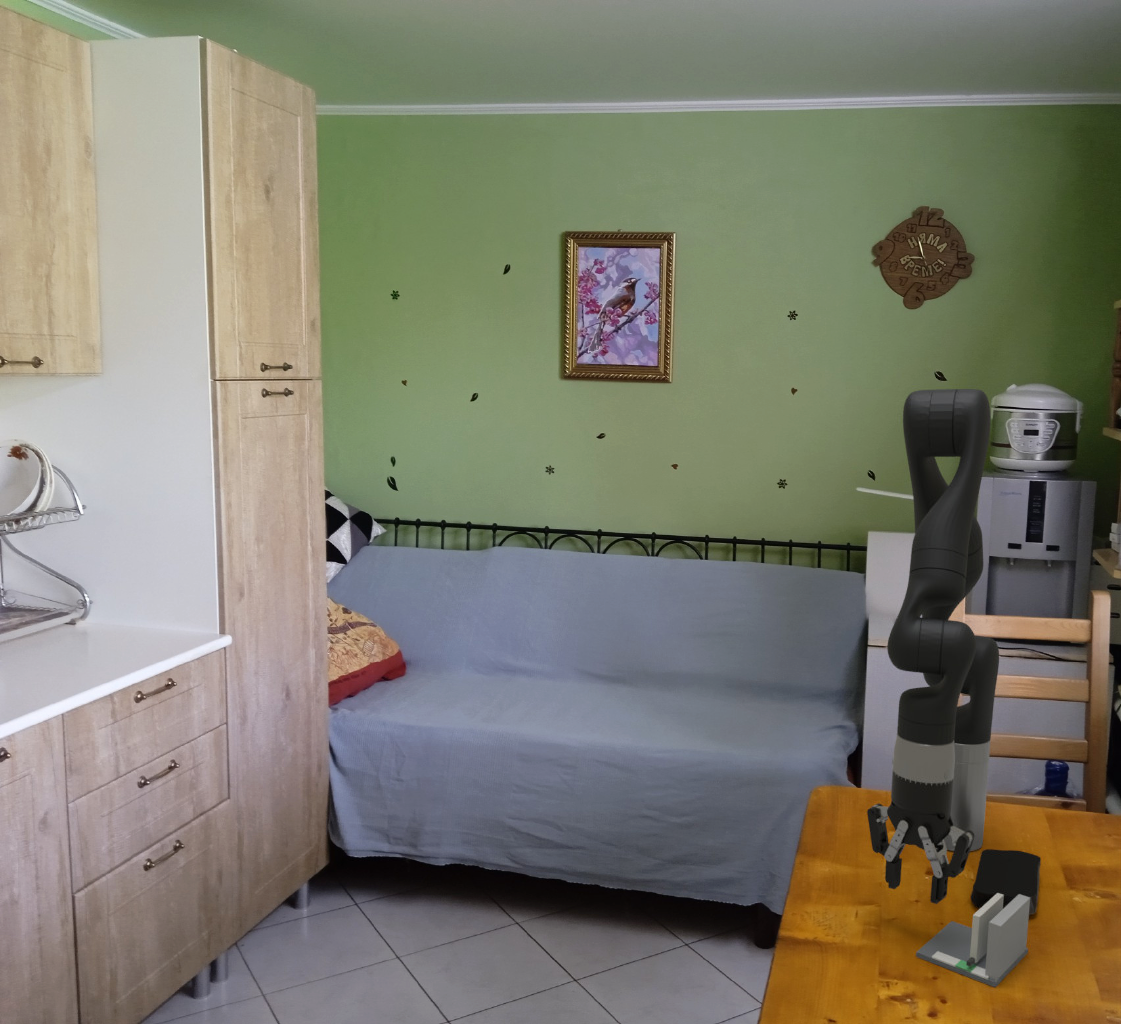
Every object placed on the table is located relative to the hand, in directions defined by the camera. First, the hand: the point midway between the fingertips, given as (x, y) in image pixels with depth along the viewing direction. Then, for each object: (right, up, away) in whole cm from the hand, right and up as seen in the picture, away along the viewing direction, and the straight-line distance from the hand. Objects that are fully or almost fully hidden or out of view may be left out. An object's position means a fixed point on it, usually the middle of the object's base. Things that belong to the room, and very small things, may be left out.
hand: (914, 893), depth 144 cm
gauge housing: (+6, -6, -5) cm, 10 cm away
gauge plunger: (+7, -5, -6) cm, 10 cm away
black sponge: (+17, -5, +13) cm, 22 cm away
